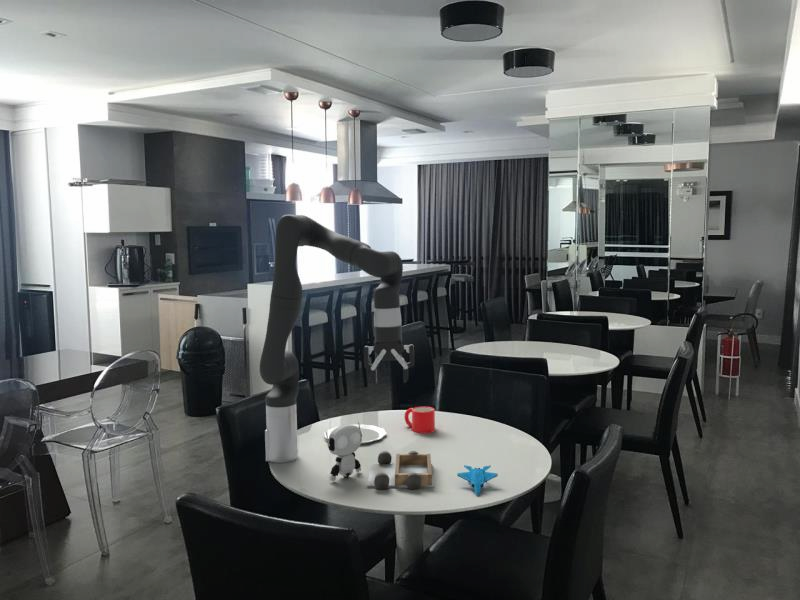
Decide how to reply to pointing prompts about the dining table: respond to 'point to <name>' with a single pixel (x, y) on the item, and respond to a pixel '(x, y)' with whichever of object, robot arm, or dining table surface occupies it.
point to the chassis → (401, 471)
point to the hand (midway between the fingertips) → (390, 382)
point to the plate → (369, 427)
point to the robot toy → (345, 449)
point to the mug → (421, 419)
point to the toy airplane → (477, 477)
